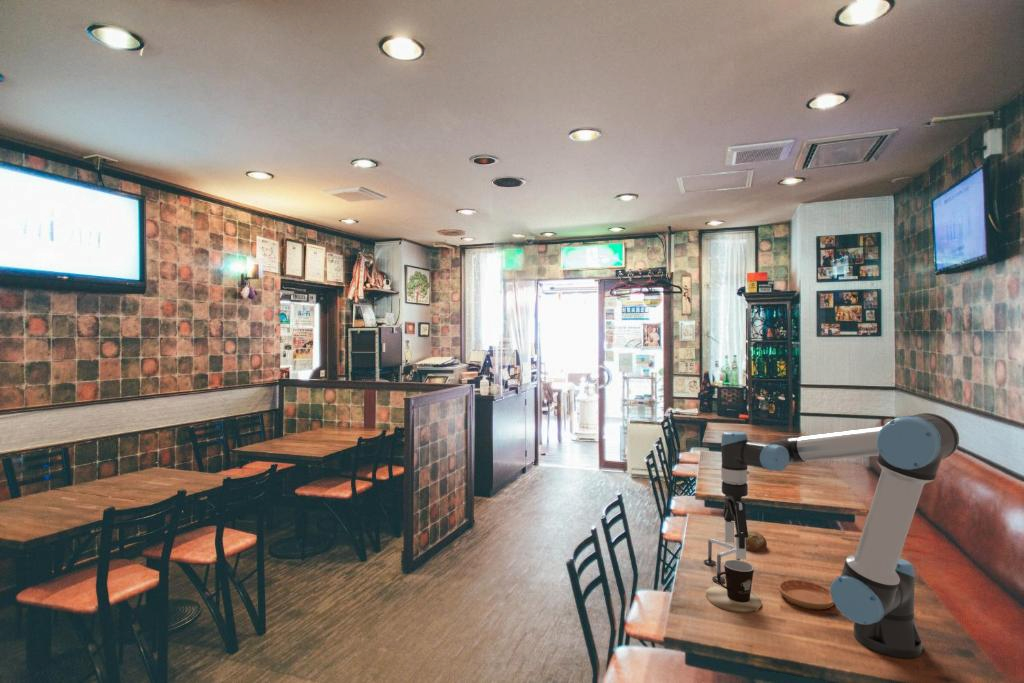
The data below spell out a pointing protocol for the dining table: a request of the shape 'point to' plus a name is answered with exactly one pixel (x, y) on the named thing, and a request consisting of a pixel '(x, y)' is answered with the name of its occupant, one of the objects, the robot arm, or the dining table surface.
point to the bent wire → (718, 557)
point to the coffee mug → (738, 580)
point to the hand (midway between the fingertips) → (735, 550)
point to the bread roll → (755, 541)
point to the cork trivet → (721, 600)
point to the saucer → (806, 594)
